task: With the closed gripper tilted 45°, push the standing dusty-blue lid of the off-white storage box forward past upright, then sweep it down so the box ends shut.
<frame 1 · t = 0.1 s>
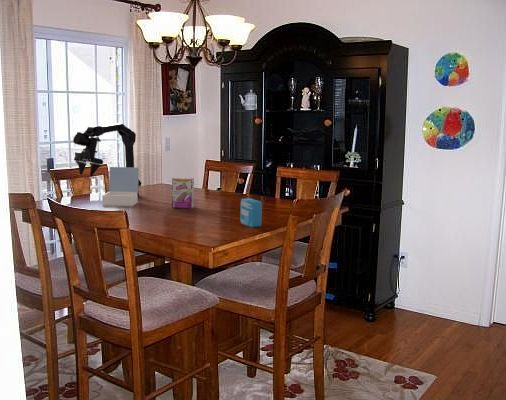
hand: (85, 175, 295), 15 cm above the table, tool pointing down, fingers open, 9 cm apart
storage box: (120, 204, 295), on the table
lid: (123, 179, 301), point 13 cm above the table, hinge at 100.0°
data package: (250, 225, 248), on the table
candy bar box: (182, 208, 289), on the table
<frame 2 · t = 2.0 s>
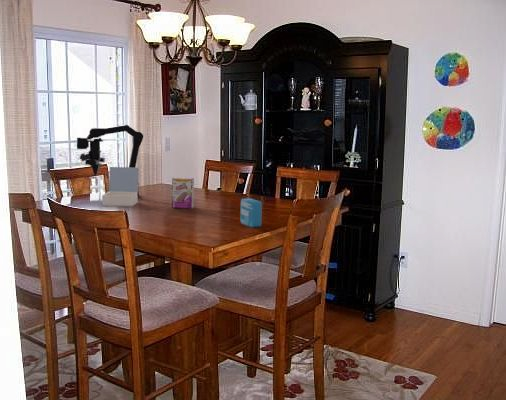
hand: (95, 175, 316), 13 cm above the table, tool pointing down, fingers closed
nothing on the table moved.
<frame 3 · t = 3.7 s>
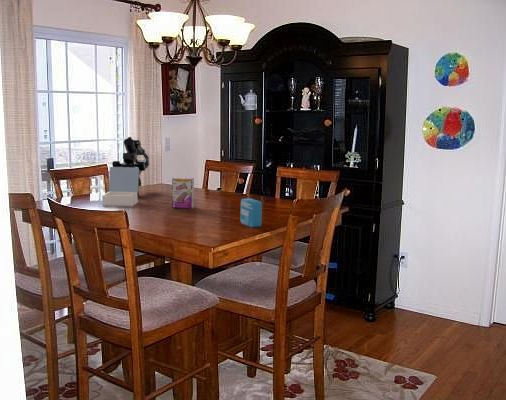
hand: (126, 177, 308), 13 cm above the table, tool tilted 45°, fingers closed
nothing on the table moved.
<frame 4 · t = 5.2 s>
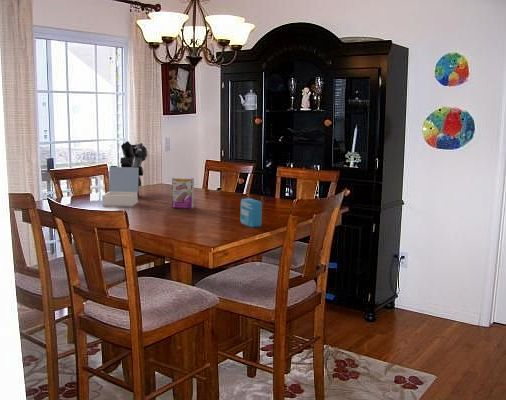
hand: (124, 182, 302), 11 cm above the table, tool tilted 45°, fingers closed, pressing on lid
lid: (123, 179, 301), point 13 cm above the table, hinge at 98.1°, touching gripper
everything else where it was.
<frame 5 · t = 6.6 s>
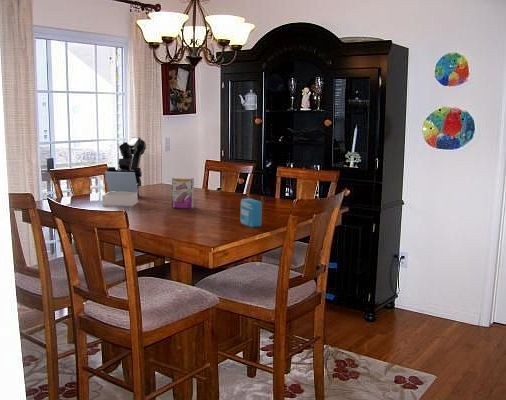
hand: (122, 183, 298), 11 cm above the table, tool tilted 45°, fingers closed, pressing on lid
lid: (121, 182, 296), point 12 cm above the table, hinge at 55.9°, touching gripper
everything else where it was.
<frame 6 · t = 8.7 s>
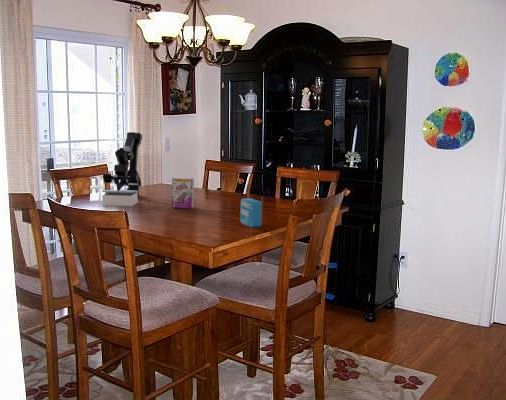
hand: (118, 190, 289), 8 cm above the table, tool tilted 45°, fingers closed, pressing on lid
lid: (120, 191, 294), point 7 cm above the table, hinge at 6.7°, touching gripper
everything else where it was.
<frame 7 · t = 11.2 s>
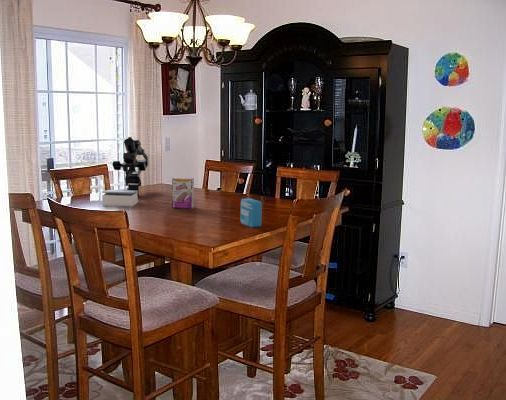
hand: (126, 177, 308), 13 cm above the table, tool tilted 45°, fingers closed
lid: (120, 191, 294), point 7 cm above the table, hinge at 5.1°
everything else where it was.
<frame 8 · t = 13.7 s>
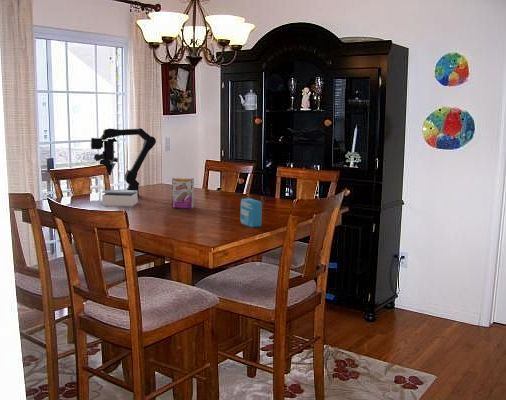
hand: (109, 175, 318), 13 cm above the table, tool pointing down, fingers closed
nothing on the table moved.
at the end: lid at +5° (first picture: +100°); candy bar box moved 0.2 cm from its start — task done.
